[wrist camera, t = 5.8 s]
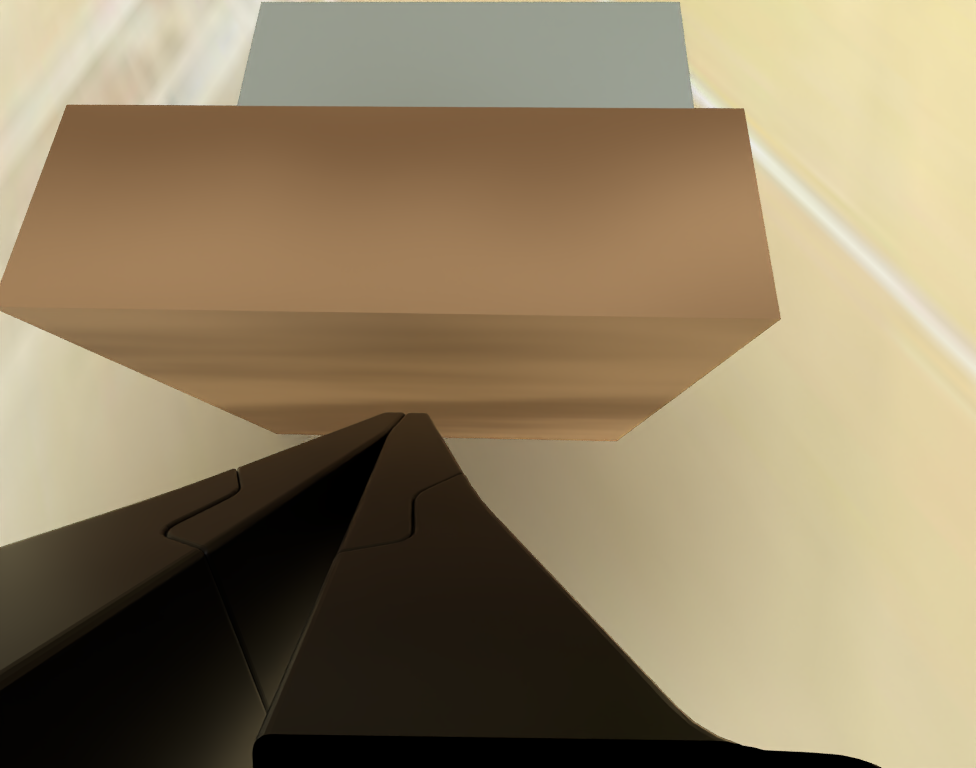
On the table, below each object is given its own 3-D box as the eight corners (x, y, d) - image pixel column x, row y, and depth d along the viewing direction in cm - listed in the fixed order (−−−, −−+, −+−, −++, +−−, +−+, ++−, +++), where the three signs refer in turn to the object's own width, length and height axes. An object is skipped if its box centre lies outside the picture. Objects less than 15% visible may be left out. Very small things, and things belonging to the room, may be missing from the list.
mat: (717, 312, 18) (721, 309, 18) (196, 305, 18) (191, 301, 18) (677, 8, 23) (679, 2, 22) (264, 8, 23) (261, 2, 23)
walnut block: (616, 441, 17) (780, 319, 7) (277, 434, 17) (-9, 306, 7) (609, 327, 18) (740, 93, 8) (295, 322, 18) (71, 89, 9)
